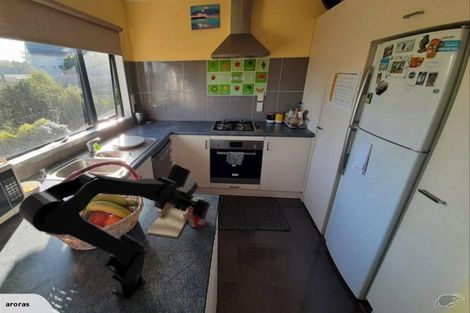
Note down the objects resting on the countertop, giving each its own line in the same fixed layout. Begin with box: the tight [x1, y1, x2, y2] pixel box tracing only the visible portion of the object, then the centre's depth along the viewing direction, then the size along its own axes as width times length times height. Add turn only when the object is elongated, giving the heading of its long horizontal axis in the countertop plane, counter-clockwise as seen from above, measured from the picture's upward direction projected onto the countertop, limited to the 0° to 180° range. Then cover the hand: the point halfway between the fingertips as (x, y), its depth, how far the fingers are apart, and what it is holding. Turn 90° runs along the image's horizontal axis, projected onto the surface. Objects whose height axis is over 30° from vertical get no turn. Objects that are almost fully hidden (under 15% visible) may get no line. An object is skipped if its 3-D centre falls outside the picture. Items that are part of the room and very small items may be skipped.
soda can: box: [188, 194, 207, 228], centre depth 82 cm, size 7×7×12 cm
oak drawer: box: [146, 194, 194, 238], centre depth 85 cm, size 19×12×7 cm, turn 172°
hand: (196, 207), depth 81 cm, fingers open, 9 cm apart
